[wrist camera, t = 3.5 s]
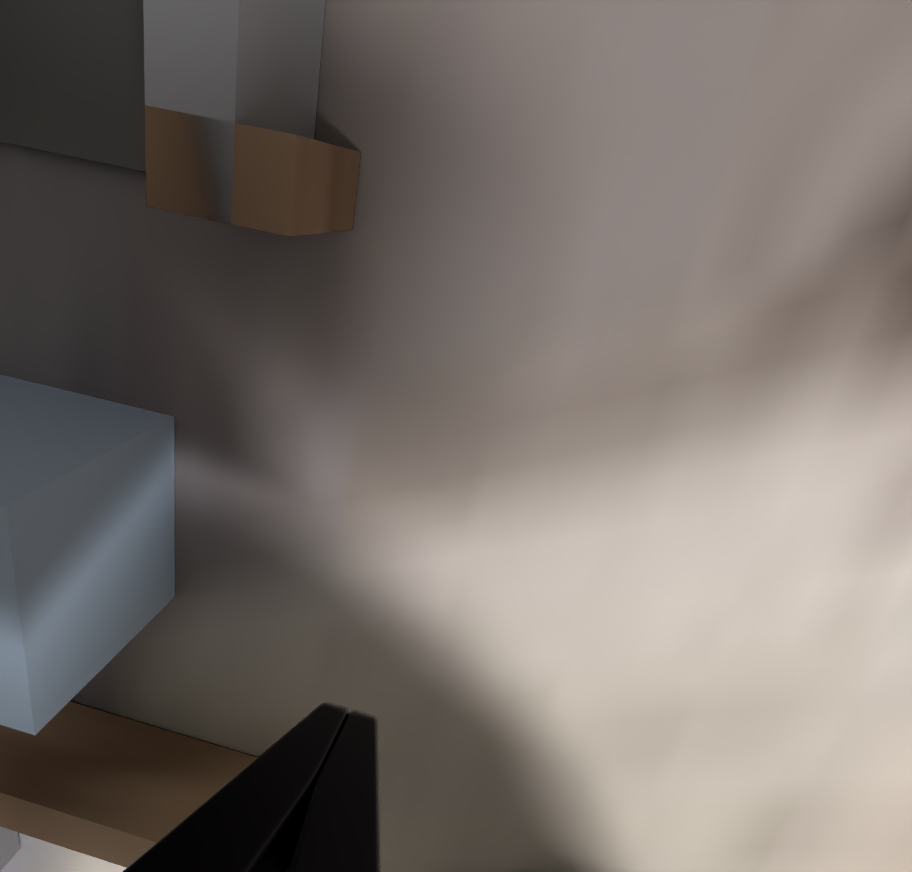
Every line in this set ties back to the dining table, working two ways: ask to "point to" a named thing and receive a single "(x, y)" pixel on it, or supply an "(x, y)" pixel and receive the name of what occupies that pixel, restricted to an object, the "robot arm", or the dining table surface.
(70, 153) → the trap pockets
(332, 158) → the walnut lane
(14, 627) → the slate block
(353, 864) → the robot arm
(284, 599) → the dining table surface
